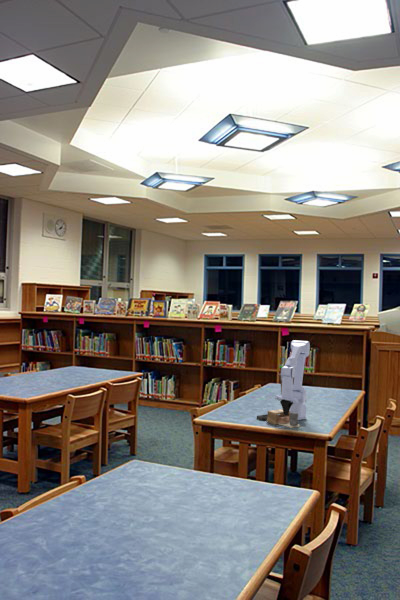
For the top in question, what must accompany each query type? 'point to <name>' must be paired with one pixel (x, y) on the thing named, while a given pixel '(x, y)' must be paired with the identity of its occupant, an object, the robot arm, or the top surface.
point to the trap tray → (262, 417)
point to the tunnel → (275, 416)
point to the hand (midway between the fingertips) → (285, 414)
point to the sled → (285, 420)
